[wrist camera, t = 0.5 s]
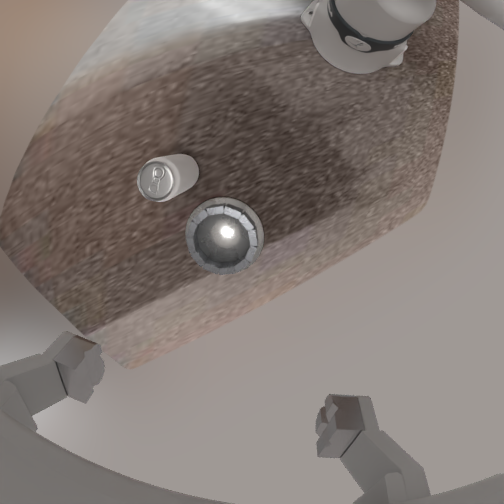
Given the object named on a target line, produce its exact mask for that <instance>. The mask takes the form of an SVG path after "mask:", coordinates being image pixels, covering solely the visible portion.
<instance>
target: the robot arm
mask: <svg viewBox="0 0 504 504" xmlns="http://www.w3.org/2000/svg"><path fill="white" fill-rule="evenodd" d="M461 1H462V2H464V3H465V4H466V5H468V6H469V7H470V8H472V9H473V10H474V11H475V12H477V13H478V14H480V15H481V16H483V17H485V18H486V19H488V20H490V21H491V22H492V23H494V24H496V25H497V26H499V27H500V28H502V29H503V30H504V0H461ZM435 7H436V0H313V1H312V3H311V4H310V5H309V6H308V7H307V8H306V10H305V11H304V12H303V13H302V15H301V18H300V19H301V21H302V23H303V24H304V25H305V26H306V28H307V29H308V30H309V31H310V34H311V37H312V40H313V43H314V45H315V47H316V49H317V51H318V52H319V53H320V55H321V56H322V57H323V58H324V59H325V60H326V61H328V62H329V63H330V64H332V65H333V66H335V67H336V68H338V69H341V70H343V71H346V72H349V73H355V74H367V73H372V72H375V71H377V70H379V69H381V68H383V67H386V66H399V65H400V64H401V63H402V61H403V53H404V51H405V50H406V49H407V47H408V46H407V45H406V44H407V40H408V39H409V38H410V36H411V35H412V33H413V32H414V30H415V29H416V28H417V27H419V26H420V25H422V24H423V23H424V22H426V21H427V20H428V19H429V18H430V17H431V16H432V14H433V13H434V11H435ZM309 13H313V14H312V15H310V14H309ZM101 353H102V350H101V345H99V344H97V343H95V342H92V341H90V340H87V339H85V338H82V337H80V336H78V335H75V334H72V333H70V332H68V331H66V332H63V333H62V334H61V335H60V336H59V337H58V338H57V339H56V340H55V341H54V342H53V344H52V345H51V346H50V347H49V348H48V349H47V350H46V351H45V352H44V353H43V354H42V355H41V354H36V355H33V356H30V357H27V358H24V359H21V360H18V361H14V362H11V363H8V364H5V365H2V366H0V504H232V503H226V502H221V501H215V500H209V499H205V498H200V497H195V496H191V495H187V494H183V493H179V492H175V491H171V490H168V489H164V488H160V487H157V486H154V485H151V484H148V483H145V482H142V481H139V480H136V479H133V478H130V477H127V476H125V475H122V474H120V473H117V472H114V471H112V470H109V469H107V468H104V467H102V466H100V465H97V464H95V463H93V462H91V461H88V460H86V459H84V458H82V457H80V456H78V455H76V454H74V453H72V452H70V451H68V450H66V449H64V448H62V447H60V446H59V445H57V444H55V443H53V442H51V441H50V440H48V439H46V438H44V437H43V436H41V435H39V434H37V433H36V430H37V425H36V423H35V421H34V420H33V418H32V415H34V414H36V413H38V412H40V411H42V410H44V409H46V408H48V407H50V406H52V405H53V404H55V403H57V402H59V401H61V400H63V399H64V398H66V397H67V396H69V397H71V398H73V399H76V400H78V401H81V402H83V403H87V401H88V400H89V398H90V396H91V395H92V393H93V386H94V385H97V384H99V383H100V381H101V379H102V377H103V374H104V361H103V360H102V358H101V357H100V354H101ZM316 433H317V434H318V435H319V436H320V438H319V439H318V441H317V455H318V457H326V458H340V460H341V462H342V463H343V464H344V466H345V467H346V468H347V470H348V471H349V473H350V474H351V475H352V476H353V478H354V479H355V481H356V482H357V483H358V485H359V486H360V487H361V489H362V490H363V491H364V494H363V495H362V496H361V497H359V498H358V499H357V500H356V501H355V502H354V503H353V504H504V474H497V475H494V476H491V477H489V478H486V479H484V480H481V481H479V482H476V483H473V484H470V485H467V486H464V487H461V488H457V489H454V490H450V491H447V492H443V493H439V494H436V495H432V496H431V495H430V491H429V487H428V483H427V480H426V476H425V472H424V469H423V467H422V466H420V464H418V463H417V462H416V461H415V460H414V459H413V458H412V457H411V456H410V455H409V454H407V453H406V452H405V451H404V450H403V449H402V448H401V447H400V446H399V445H398V444H397V443H396V442H395V441H394V440H393V439H391V438H390V437H389V436H388V435H387V434H386V433H385V432H384V431H380V430H379V426H378V423H377V419H376V415H375V412H374V408H373V404H372V401H371V398H370V397H369V396H354V395H353V396H351V395H337V394H336V395H335V394H329V395H328V396H327V397H326V399H325V407H322V408H321V409H320V411H319V413H318V415H317V419H316Z"/></svg>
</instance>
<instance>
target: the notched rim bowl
mask: <svg viewBox="0 0 504 504" xmlns="http://www.w3.org/2000/svg"><path fill="white" fill-rule="evenodd" d="M186 242H187V246H188V249H189V253H191V256H192V258H193V259H194V260H195V261H196V262H197V263H198V265H199V266H200V267H202V266H203V269H205V270H207V271H210V272H212V273H215V274H218V273H219V275H223V274H234V273H236V272H240V271H242V270H245V269H246V268H248V267H249V266H251V265H252V264H253V263H254V262H255V261H256V259H257V258H258V257H259V255H260V253H261V251H262V248H263V243H264V230H263V226H262V223H261V220H260V219H259V217H258V215H257V214H256V212H255V211H254V210H253V209H252V208H251V207H250V206H248V205H247V204H246V203H244V202H242V201H240V200H238V199H235V198H230V197H217V198H212V199H210V200H207V201H205V202H203V203H202V204H201V205H199V206H198V207H197V208H196V209H195V210H194V211H193V212H192V214H191V215H190V217H189V219H188V222H187V225H186Z"/></svg>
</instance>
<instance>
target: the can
mask: <svg viewBox="0 0 504 504" xmlns="http://www.w3.org/2000/svg"><path fill="white" fill-rule="evenodd" d="M198 176H199V168H198V165H197V163H196V161H195V160H194V159H193V158H192V157H191V156H189V155H185V154H175V155H169V156H163V157H157V158H154V159H151V160H149V161H148V162H147V163H146V164H145V165H144V166H143V167H142V168H141V169H140V171H139V173H138V177H137V185H138V189H139V191H140V193H141V194H142V195H143V196H144V197H145V198H146V199H148V200H151V201H157V202H163V201H167V200H169V199H171V198H173V197H175V196H177V195H179V194H181V193H182V192H184V191H186V190H188V189H189V188H191V187H192V186H193V185H194V184H195V183H196V181H197V179H198Z"/></svg>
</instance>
